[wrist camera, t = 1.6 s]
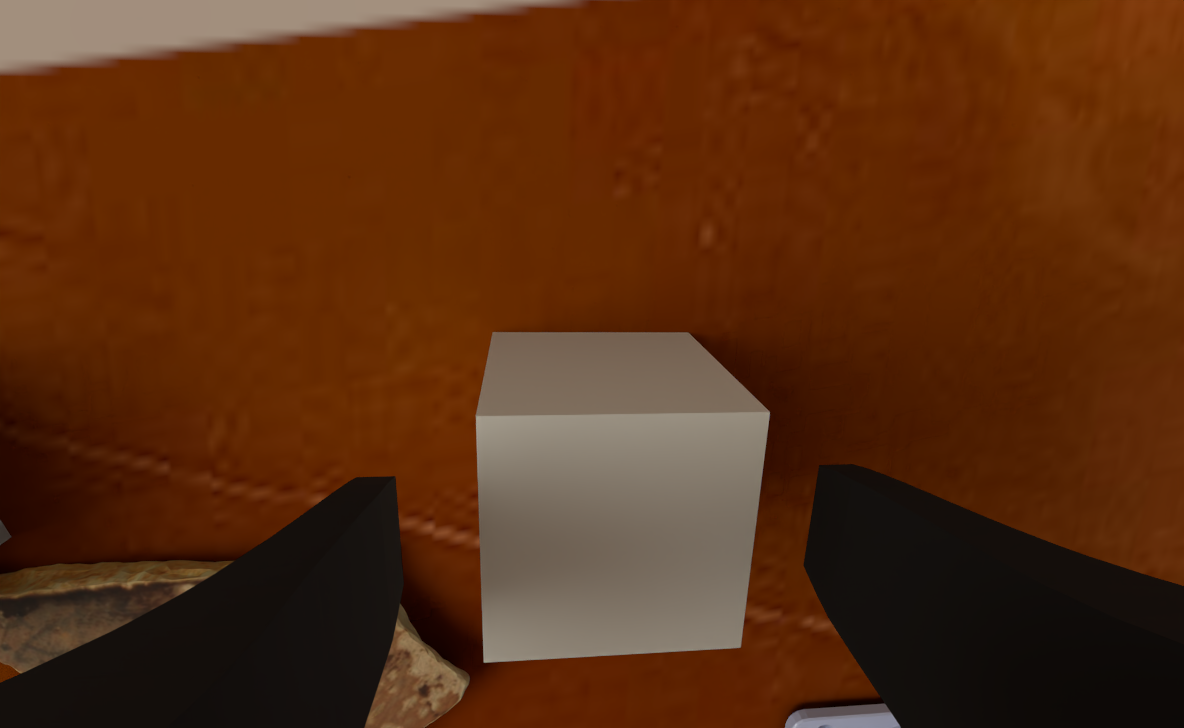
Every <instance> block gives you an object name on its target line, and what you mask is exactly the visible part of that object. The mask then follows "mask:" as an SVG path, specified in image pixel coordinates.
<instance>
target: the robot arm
mask: <svg viewBox="0 0 1184 728" xmlns="http://www.w3.org/2000/svg"><path fill="white" fill-rule="evenodd" d="M804 567H805V570H806V572H807V574H808V576H809V578H810V581H811V583H812V585H813V587H814V589H815V592H816V594H817V596H818V598H819V600H820V602H821V604H822V606H823V608H824V610H825V612H826V614H827V616H828V618H829V619H830V621H831V622H832V624H833V625H834V627H835V629H836V630H837V632H838V633H839V635H840V636H841V638H842V639H843V641H844V643H845V644H846V646H847V647H848V649H849V650H850V652H851V653H852V655H853V656H854V658H855V659H856V661H857V662H858V664H859V665H860V667H861V668H862V670H863V671H864V673H865V674H866V676H867V677H868V679H869V680H870V682H871V683H872V685H873V686H874V688H875V689H876V691H877V692H878V694H879V695H880V697H881V698H882V700H883V701H884V703H885V704H871V705H856V706H842V707H828V708H814V709H802V710H798V711H796V712H794V713H792V714H791V715H790V716H789V718H788V719H787V722H786V725H785V728H1184V586H1181V585H1178V584H1175V583H1171V582H1168V581H1164V580H1161V579H1158V578H1154V577H1151V576H1148V575H1144V574H1141V573H1138V572H1135V571H1132V570H1129V569H1126V568H1123V567H1120V566H1117V565H1114V564H1111V563H1107V562H1104V561H1101V560H1098V559H1095V558H1092V557H1089V556H1086V555H1083V554H1080V553H1078V552H1075V551H1072V550H1069V549H1066V548H1064V547H1061V546H1058V545H1055V544H1053V543H1050V542H1048V541H1045V540H1042V539H1040V538H1037V537H1035V536H1032V535H1029V534H1027V533H1024V532H1022V531H1019V530H1016V529H1014V528H1011V527H1009V526H1006V525H1004V524H1001V523H999V522H996V521H994V520H991V519H989V518H987V517H984V516H982V515H979V514H977V513H975V512H972V511H970V510H967V509H965V508H963V507H960V506H958V505H956V504H953V503H951V502H949V501H946V500H944V499H942V498H939V497H937V496H935V495H932V494H930V493H927V492H925V491H923V490H920V489H918V488H916V487H913V486H911V485H909V484H906V483H904V482H901V481H899V480H896V479H894V478H891V477H889V476H886V475H884V474H881V473H878V472H876V471H873V470H870V469H867V468H864V467H860V466H857V465H853V464H847V465H819V471H818V477H817V483H816V490H815V496H814V502H813V509H812V515H811V522H810V528H809V534H808V541H807V547H806V553H805V560H804ZM403 585H404V581H403V568H402V556H401V543H400V530H399V517H398V505H397V492H396V479H395V476H392V477H356V478H355V479H353V480H351V481H349V482H348V483H346V484H345V485H343V486H342V487H340V488H339V489H338V490H336V491H335V492H333V493H332V494H331V495H329V496H328V497H326V498H325V499H324V500H322V501H321V502H319V503H318V504H317V505H315V506H314V507H313V508H311V509H310V510H308V511H307V512H306V513H304V514H303V515H301V516H300V517H299V518H297V519H296V520H294V521H293V522H292V523H290V524H289V525H287V526H286V527H285V528H283V529H282V530H280V531H279V532H277V533H276V534H275V535H273V536H272V537H270V538H269V539H267V540H266V541H264V542H263V543H261V544H260V545H258V546H257V547H255V548H254V549H252V550H250V551H249V552H247V553H246V554H244V555H243V556H241V557H240V558H238V559H237V560H235V561H234V562H232V563H230V564H229V565H227V566H226V567H224V568H223V569H221V570H220V571H218V572H217V573H215V574H213V575H212V576H210V577H209V578H207V579H205V580H204V581H202V582H200V583H199V584H197V585H195V586H194V587H192V588H190V589H189V590H187V591H185V592H183V593H182V594H180V595H178V596H176V597H175V598H173V599H171V600H169V601H167V602H166V603H164V604H162V605H160V606H158V607H156V608H154V609H153V610H151V611H149V612H147V613H145V614H143V615H142V616H140V617H138V618H136V619H134V620H132V621H130V622H129V623H127V624H125V625H123V626H121V627H119V628H117V629H115V630H113V631H111V632H109V633H107V634H105V635H102V636H100V637H98V638H96V639H94V640H92V641H90V642H88V643H85V644H83V645H81V646H79V647H77V648H75V649H73V650H70V651H68V652H66V653H64V654H62V655H60V656H58V657H56V658H53V659H51V660H49V661H47V662H45V663H43V664H41V665H38V666H36V667H34V668H32V669H30V670H28V671H26V672H24V673H21V674H19V675H17V676H15V677H13V678H10V679H8V680H6V681H3V682H1V683H0V728H364V727H365V724H366V721H367V718H368V715H369V712H370V709H371V706H372V703H373V700H374V697H375V694H376V691H377V688H378V685H379V682H380V679H381V676H382V673H383V670H384V667H385V664H386V661H387V657H388V654H389V651H390V648H391V645H392V642H393V637H394V632H395V627H396V622H397V617H398V612H399V607H400V601H401V596H402V590H403Z"/></svg>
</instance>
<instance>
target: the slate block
mask: <svg viewBox="0 0 1184 728" xmlns="http://www.w3.org/2000/svg"><path fill="white" fill-rule="evenodd" d="M9 538H11V535H10V534H9V532H8V531H7V529H6V528H5V526H4V525H3V523H2V521H1V520H0V545H1V544H2V543H4V542H5V541H7V540H8V539H9Z"/></svg>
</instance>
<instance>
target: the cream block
mask: <svg viewBox="0 0 1184 728" xmlns="http://www.w3.org/2000/svg"><path fill="white" fill-rule="evenodd" d="M769 417H770V411H768V410H767V409H766V408H765V407H764V406H763V405H762V404H761V403H760V402H759V401H758V400H757V399H756V398H755V397H754V396H753V395H752V394H751V393H750V392H749V391H748V390H747V389H746V388H745V387H744V386H743V385H742V384H741V383H740V382H739V381H738V380H737V379H736V378H735V377H733V376H732V375H731V374H730V373H729V372H728V371H727V370H726V369H725V368H724V367H723V366H722V365H721V364H720V363H719V362H718V361H717V360H716V359H715V358H714V357H713V356H712V355H711V354H710V353H709V352H708V351H707V350H706V349H705V348H704V347H703V346H702V345H701V344H700V343H699V342H697V341H696V340H695V339H694V338H693V337H692V336H691V335H690V334H689V333H688V332H493V334H492V339H491V344H490V349H489V354H488V359H487V364H486V369H485V374H484V378H483V383H482V388H481V393H480V398H479V403H478V408H477V413H476V434H477V466H478V498H479V529H480V561H481V593H482V624H483V656H484V663H487V662H504V661H521V660H538V659H556V658H573V657H590V656H607V655H624V654H641V653H658V652H675V651H692V650H709V649H726V648H741V640H742V632H743V624H744V616H745V608H746V600H747V592H748V584H749V576H750V568H751V560H752V552H753V544H754V536H755V528H756V520H757V512H758V504H759V496H760V488H761V480H762V472H763V465H764V457H765V449H766V441H767V433H768V425H769Z"/></svg>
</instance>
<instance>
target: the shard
mask: <svg viewBox="0 0 1184 728" xmlns="http://www.w3.org/2000/svg"><path fill="white" fill-rule="evenodd" d="M232 562H234V561H220V562H199V561H190V560H170V561H165V562H161V561H140V562H134V563H122V562H101V563H96V564H80V563H77V564H55V565H50V566H40V567H35V568H25V569H22V570H19V571H16V572H12V573H5V574H0V662H1V663H3V664H7V665H10V666H11V667H13V668H14V669H16V670H17V671H18V672H20V673H24V672H26V671H28V670H30V669H32V668H34V667H36V666H38V665H41V664H43V663H45V662H47V661H49V660H51V659H53V658H56V657H58V656H60V655H62V654H64V653H66V652H68V651H70V650H73V649H75V648H77V647H79V646H81V645H83V644H85V643H88V642H90V641H92V640H94V639H96V638H98V637H100V636H102V635H105V634H107V633H109V632H111V631H113V630H115V629H117V628H119V627H121V626H123V625H125V624H127V623H129V622H130V621H132V620H134V619H136V618H138V617H140V616H142V615H143V614H145V613H147V612H149V611H151V610H153V609H154V608H156V607H158V606H160V605H162V604H164V603H166V602H167V601H169V600H171V599H173V598H175V597H176V596H178V595H180V594H182V593H183V592H185V591H187V590H189V589H190V588H192V587H194V586H195V585H197V584H199V583H200V582H202V581H204V580H205V579H207V578H209V577H210V576H212V575H213V574H215V573H217V572H218V571H220V570H221V569H223V568H224V567H226V566H227V565H229V564H230V563H232ZM469 681H470V677H469V675H468V673H467V672H465V671H464V670H462V669H459V668H457V667H455V666H454V665H453V664H451V663H450V662H449V661H447V660H444V659H442V657H441V656H440V655H439V654H438V653H437V652H436V651H435V650H434V649H433V648H432V647H430V646H429V645H427V644H426V643H424V642H423V641H421V638H420V637H419V635H418V633H417V631H416V630H415V628H414V627H413V625H412V624H411V623H410V621H409V619H408V616H407V613H406V612H405V610H404V608H403V607H402V605H401V604H400V607H399V612H398V617H397V622H396V627H395V632H394V637H393V642H392V645H391V648H390V651H389V654H388V657H387V661H386V664H385V667H384V670H383V673H382V676H381V679H380V682H379V685H378V688H377V691H376V694H375V697H374V700H373V703H372V706H371V709H370V712H369V715H368V718H367V721H366V724H365V727H364V728H424V727H426V726H427V725H429V724H430V723H432V722H433V721H435V720H436V719H438V718H439V717H440V716H442V715H443V714H445V713H446V712H448V711H449V710H450V709H451V708H452V707H454V706H455V705H456V704H457V703H458V702H459V701H460V700H461V698H462V697H463V694H464V692H465V689H466V688H467V686H468V685H469Z"/></svg>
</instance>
